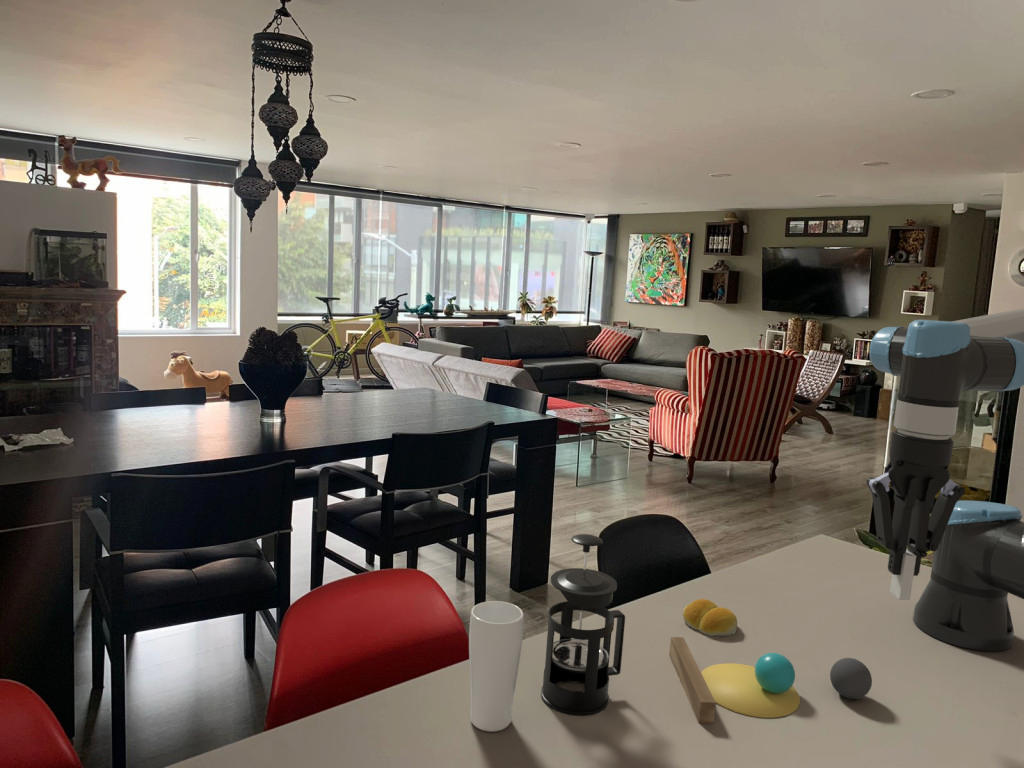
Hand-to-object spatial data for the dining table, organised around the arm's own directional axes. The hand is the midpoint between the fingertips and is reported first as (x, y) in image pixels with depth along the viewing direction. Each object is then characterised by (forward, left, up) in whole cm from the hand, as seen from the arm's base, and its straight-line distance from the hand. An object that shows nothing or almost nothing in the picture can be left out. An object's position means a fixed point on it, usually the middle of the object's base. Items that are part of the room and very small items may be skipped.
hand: (899, 595), depth 108 cm
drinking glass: (+57, +11, -16) cm, 60 cm away
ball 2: (+6, 0, -13) cm, 14 cm away
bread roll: (+20, -20, -16) cm, 33 cm away
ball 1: (+16, 0, -13) cm, 21 cm away
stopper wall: (+29, 0, -15) cm, 32 cm away
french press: (+45, +4, -16) cm, 48 cm away
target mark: (+20, 0, -15) cm, 25 cm away
